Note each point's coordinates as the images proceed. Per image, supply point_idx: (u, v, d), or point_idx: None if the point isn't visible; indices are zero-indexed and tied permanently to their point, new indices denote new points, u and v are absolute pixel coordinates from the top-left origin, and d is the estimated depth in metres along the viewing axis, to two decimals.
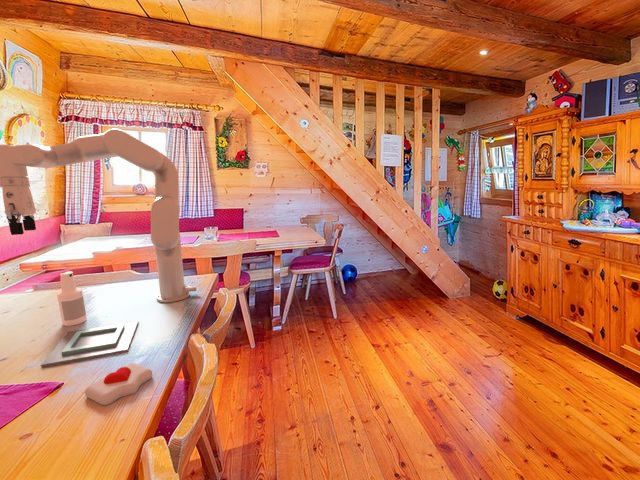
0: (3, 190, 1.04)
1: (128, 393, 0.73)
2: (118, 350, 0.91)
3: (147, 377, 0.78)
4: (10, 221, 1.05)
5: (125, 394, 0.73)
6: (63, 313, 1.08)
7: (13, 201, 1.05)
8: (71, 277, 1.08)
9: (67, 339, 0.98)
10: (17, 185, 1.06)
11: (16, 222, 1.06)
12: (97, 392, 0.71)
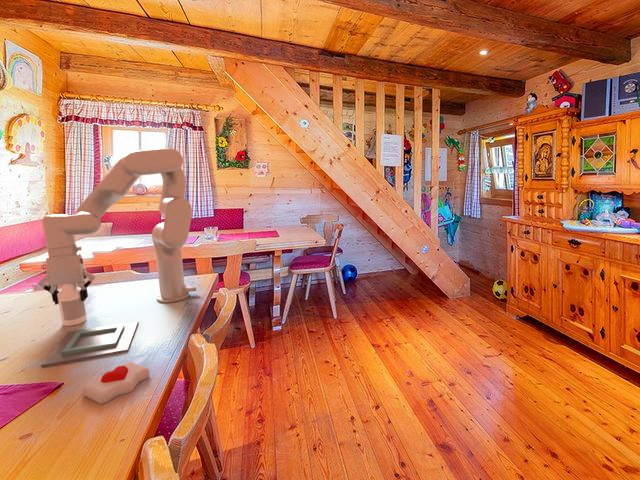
0: (77, 258, 1.07)
1: (125, 392, 0.74)
2: (118, 350, 0.91)
3: (144, 376, 0.78)
4: None
5: (122, 393, 0.73)
6: (63, 313, 1.08)
7: (83, 266, 1.10)
8: None
9: (67, 339, 0.98)
10: (76, 251, 1.10)
11: None
12: (94, 391, 0.71)
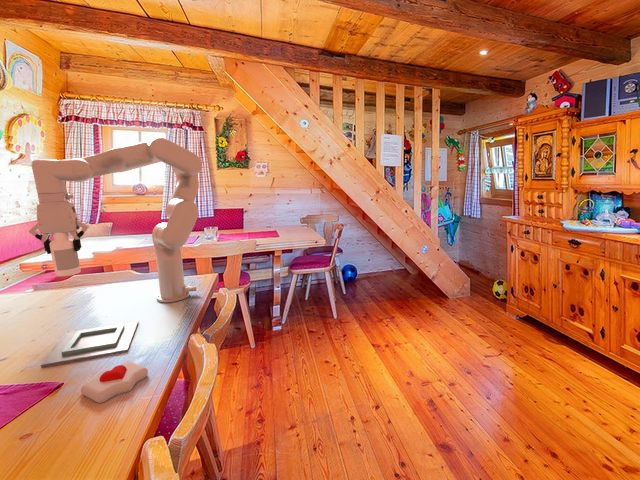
0: (69, 205, 1.04)
1: (123, 391, 0.74)
2: (118, 350, 0.91)
3: (142, 376, 0.79)
4: (80, 237, 1.07)
5: (120, 392, 0.74)
6: (55, 263, 1.04)
7: (76, 215, 1.07)
8: None
9: (67, 339, 0.98)
10: None
11: (79, 238, 1.09)
12: (92, 390, 0.72)
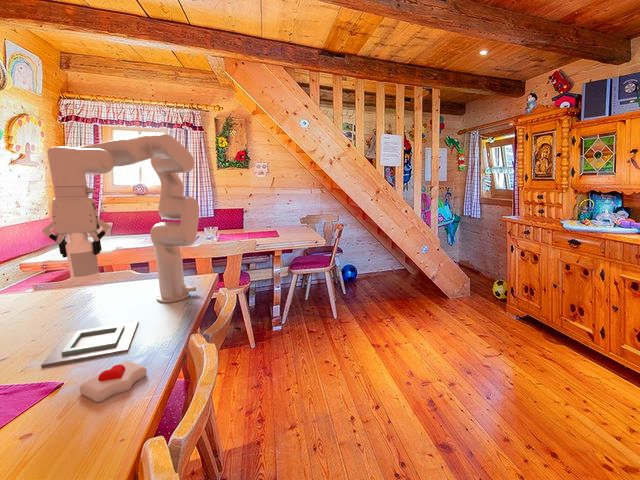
0: (89, 201, 0.89)
1: (122, 390, 0.74)
2: (118, 350, 0.91)
3: (141, 375, 0.79)
4: (100, 238, 0.93)
5: (118, 391, 0.74)
6: (72, 268, 0.90)
7: (96, 213, 0.92)
8: None
9: (67, 339, 0.98)
10: None
11: None
12: (91, 389, 0.72)
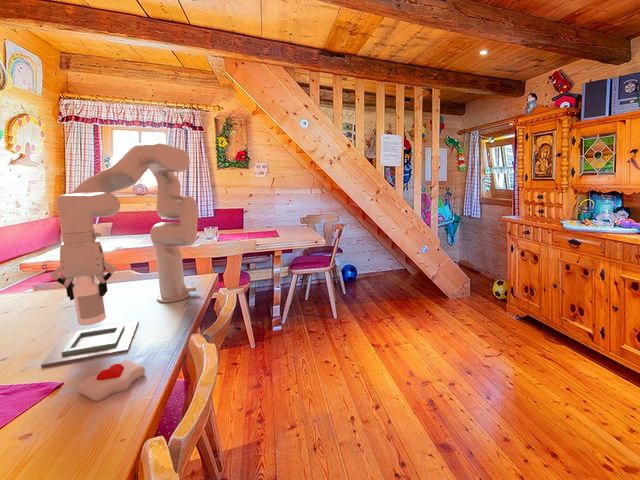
0: (96, 245, 0.92)
1: (120, 389, 0.74)
2: (118, 350, 0.91)
3: (139, 374, 0.79)
4: None
5: (117, 391, 0.74)
6: (79, 311, 0.92)
7: (103, 256, 0.95)
8: None
9: (67, 339, 0.98)
10: None
11: None
12: (89, 388, 0.72)
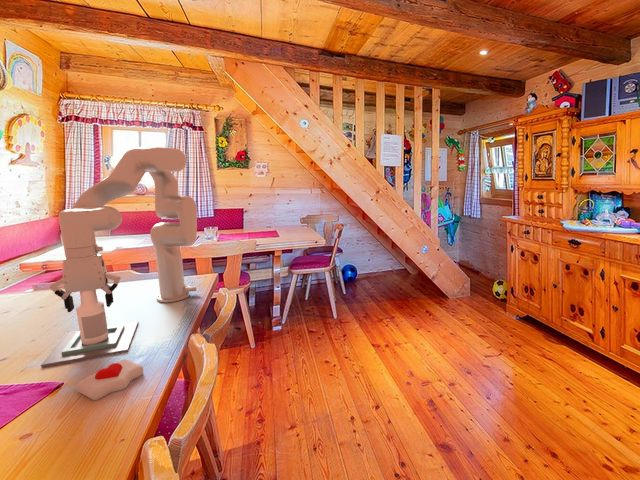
0: (98, 260, 0.92)
1: (118, 389, 0.75)
2: (118, 350, 0.91)
3: (138, 374, 0.80)
4: None
5: (115, 390, 0.74)
6: (83, 331, 0.93)
7: (105, 269, 0.95)
8: None
9: (67, 339, 0.98)
10: None
11: None
12: (87, 387, 0.73)
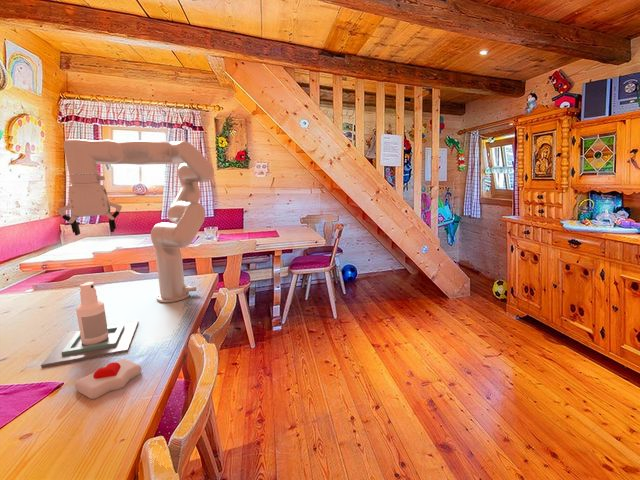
0: (101, 187, 1.02)
1: (116, 388, 0.75)
2: (118, 350, 0.91)
3: (136, 373, 0.80)
4: (115, 217, 1.06)
5: (113, 389, 0.75)
6: (83, 331, 0.93)
7: (107, 198, 1.05)
8: (92, 288, 0.94)
9: (67, 339, 0.98)
10: None
11: None
12: (85, 386, 0.73)
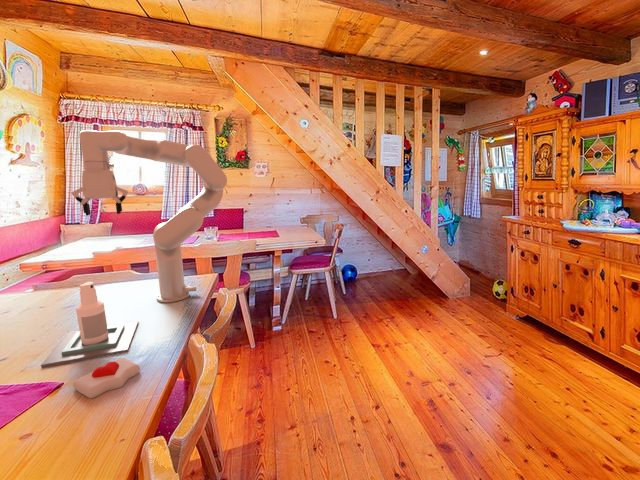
0: (110, 173, 1.15)
1: (114, 387, 0.75)
2: (118, 350, 0.91)
3: (134, 372, 0.80)
4: (121, 201, 1.19)
5: (111, 388, 0.75)
6: (83, 331, 0.93)
7: (115, 183, 1.18)
8: (92, 288, 0.94)
9: (67, 339, 0.98)
10: None
11: None
12: (84, 385, 0.73)
